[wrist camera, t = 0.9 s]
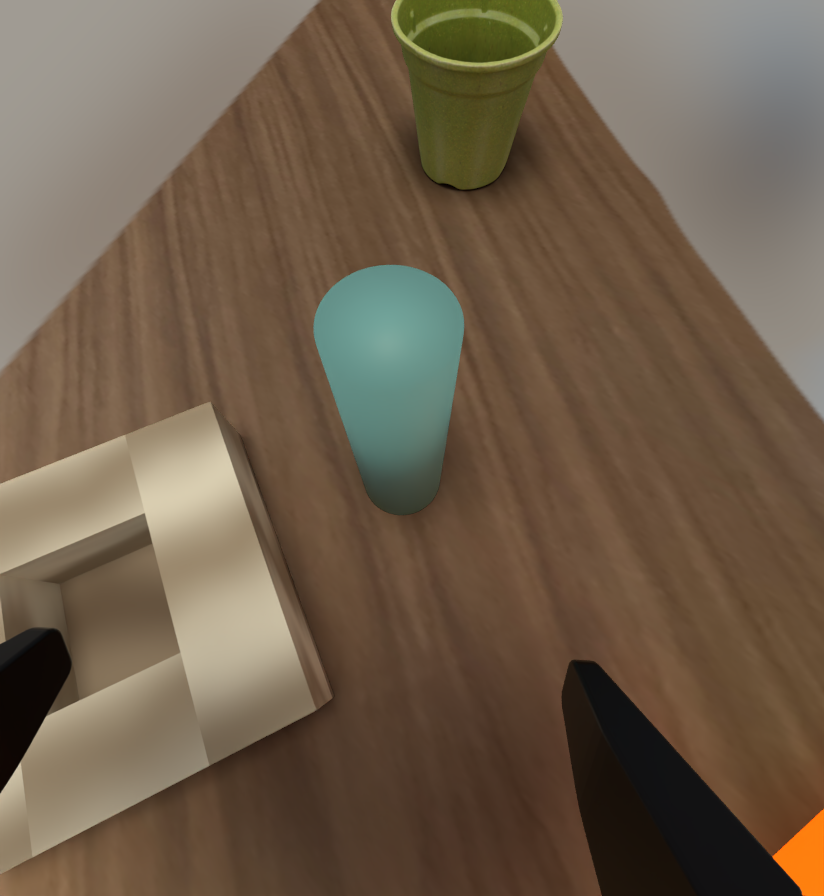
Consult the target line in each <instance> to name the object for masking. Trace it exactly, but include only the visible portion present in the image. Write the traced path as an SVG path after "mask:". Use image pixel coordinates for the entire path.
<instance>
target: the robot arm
mask: <svg viewBox="0 0 824 896" xmlns="http://www.w3.org/2000/svg"><path fill="white" fill-rule="evenodd" d="M71 668H72V659H71V656H70V653H69V651H68V648H67V646H66V643H65V641H64V638H63V635H62V633H61V632H60V630H58V629H56V628H48V627H33V628H30V629H27V630H25V631H23V632H22V633H20V634H18V635H16V636H14V637H12V638H10V639H9V640H7V641H5V642H3V643H1V644H0V793H1V792H2V790H3V789H4V787H5V786H6V784H7V783H8V781H9V780H10V778H11V777H12V775H13V773H14V772H15V770H16V769H17V767H18V765H19V764H20V762H21V760H22V759H23V757H24V755H25V754H26V752H27V750H28V748H29V746H30V745H31V743H32V741H33V739H34V737H35V736H36V734H37V732H38V730H39V728H40V727H41V725H42V723H43V721H44V719H45V718H46V716H47V714H48V712H49V710H50V709H51V707H52V705H53V703H54V701H55V700H56V698H57V696H58V694H59V692H60V691H61V689H62V687H63V685H64V683H65V682H66V680H67V678H68V676H69V674H70V671H71ZM562 709H563V715H564V721H565V727H566V733H567V739H568V745H569V752H570V758H571V764H572V770H573V776H574V782H575V788H576V794H577V799H578V805H579V809H580V813H581V818H582V822H583V826H584V830H585V833H586V837H587V841H588V845H589V849H590V852H591V856H592V860H593V864H594V868H595V871H596V875H597V879H598V883H599V886H600V890H601V894H602V896H803V895H802V891H801V889H800V887H799V886H798V885H797V884H796V883H795V882H794V881H793V879H792V878H791V877H790V876H789V875H788V874H787V873H786V872H785V871H784V869H783V868H782V867H781V866H780V865H779V864H778V863H777V862H776V861H775V860H774V858H773V857H772V856H771V855H770V854H769V853H768V852H767V851H766V850H765V848H764V847H763V846H762V845H761V844H760V843H759V842H758V841H757V840H756V838H755V837H754V836H753V835H752V834H751V833H750V832H749V831H748V830H747V828H746V827H745V826H744V825H743V824H742V823H741V822H740V821H739V820H738V818H737V817H736V816H735V815H734V814H733V813H732V812H731V811H730V810H729V809H728V807H727V806H726V805H725V804H724V803H723V802H722V801H721V800H720V799H719V797H718V796H717V795H716V794H715V793H714V792H713V791H712V790H711V789H710V787H709V786H708V785H707V784H706V783H705V782H704V781H703V780H702V779H701V777H700V776H699V775H698V774H697V773H696V772H695V771H694V770H693V769H692V768H691V766H690V765H689V764H688V763H687V762H686V761H685V760H684V759H683V758H682V756H681V755H680V754H679V753H678V752H677V751H676V750H675V749H674V748H673V746H672V745H671V744H670V743H669V742H668V741H667V740H666V739H665V738H664V736H663V735H662V734H661V733H660V732H659V731H658V730H657V729H656V728H655V727H654V725H653V724H652V723H651V722H650V721H649V720H648V719H647V718H646V717H645V715H644V714H643V713H642V712H641V711H640V710H639V709H638V708H637V707H636V705H635V704H634V703H633V702H632V701H631V700H630V699H629V698H628V697H627V695H626V694H625V693H624V692H623V691H622V690H621V689H620V688H619V687H618V686H617V684H616V683H615V682H614V681H613V680H612V679H611V678H610V677H609V676H608V674H607V673H606V672H605V671H604V670H603V669H602V668H601V667H600V666H599V665H598V664H597V663H596V662H594V661H588V660H572V661H571V662H570V663H569V666H568V669H567V673H566V677H565V681H564V686H563V690H562ZM804 896H805V895H804Z"/></svg>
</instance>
